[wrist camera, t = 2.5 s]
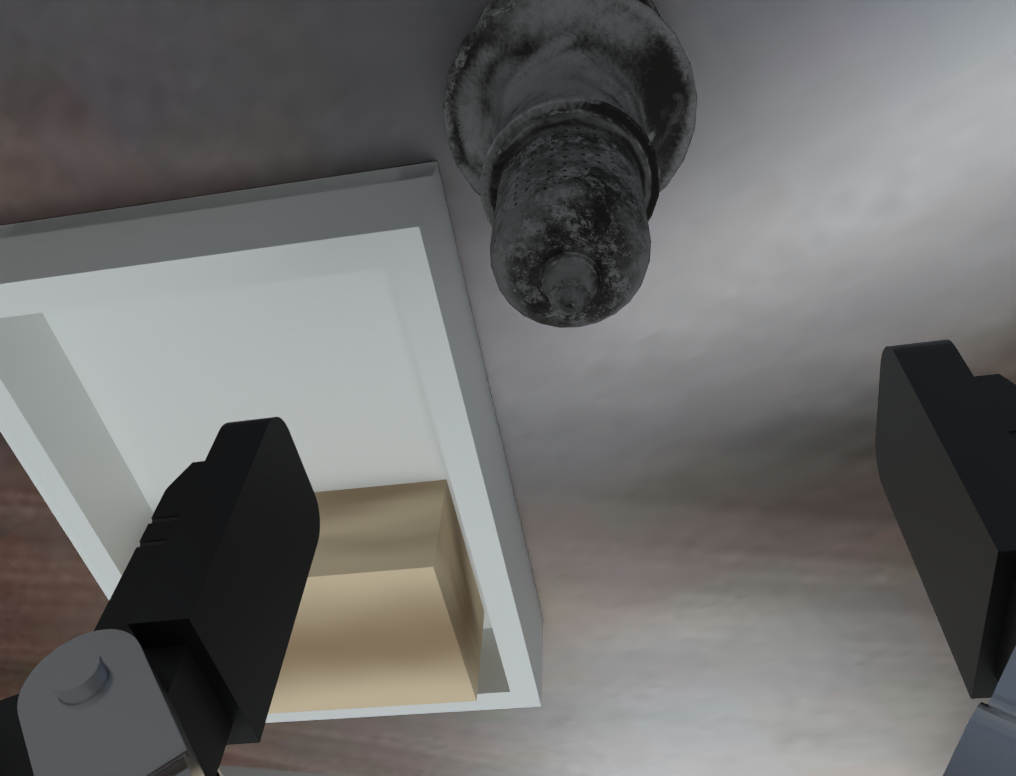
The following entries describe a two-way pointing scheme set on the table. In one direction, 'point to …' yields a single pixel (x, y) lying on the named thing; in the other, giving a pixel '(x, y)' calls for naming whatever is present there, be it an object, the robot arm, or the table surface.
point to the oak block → (385, 605)
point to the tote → (265, 372)
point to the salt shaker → (569, 145)
